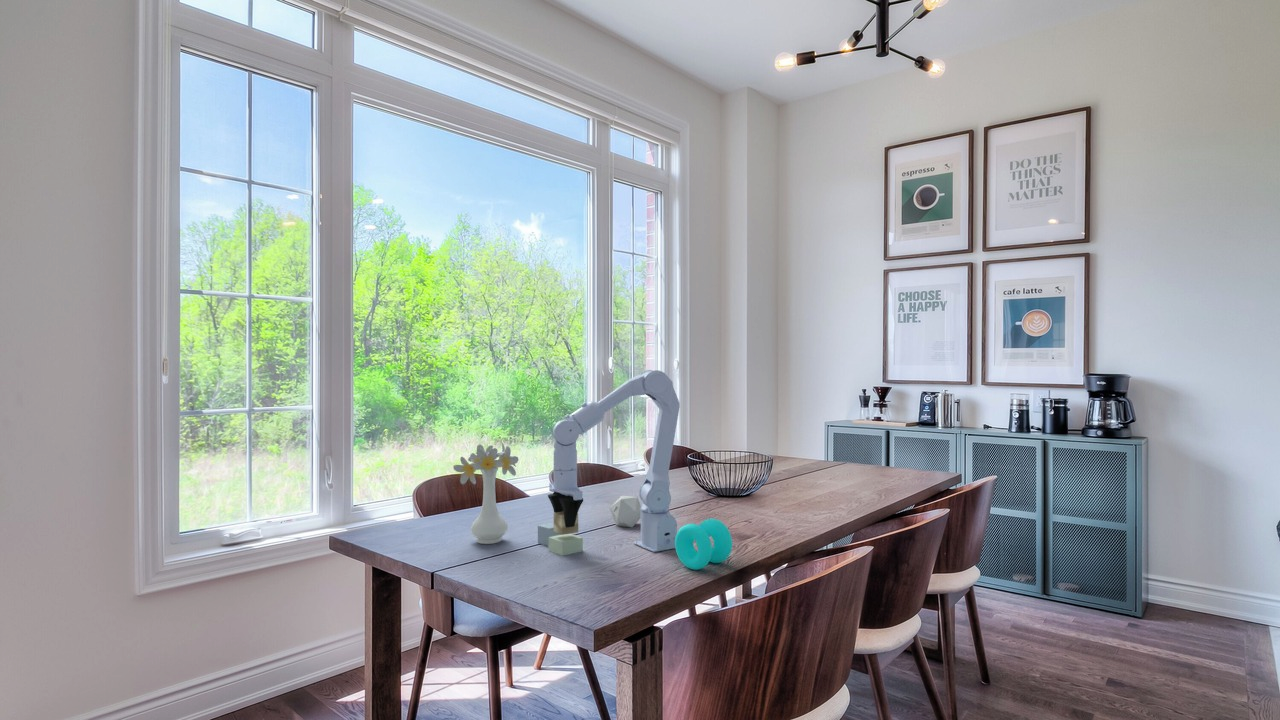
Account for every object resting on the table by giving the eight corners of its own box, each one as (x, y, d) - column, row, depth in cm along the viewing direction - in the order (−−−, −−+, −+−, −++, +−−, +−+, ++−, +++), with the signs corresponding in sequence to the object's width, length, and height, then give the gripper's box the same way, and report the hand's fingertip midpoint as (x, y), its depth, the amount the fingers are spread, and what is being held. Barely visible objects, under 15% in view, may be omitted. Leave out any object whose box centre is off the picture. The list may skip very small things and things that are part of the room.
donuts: (734, 565, 151) (734, 521, 151) (705, 575, 144) (705, 529, 144) (701, 556, 158) (701, 514, 158) (672, 565, 151) (672, 521, 151)
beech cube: (578, 532, 163) (578, 513, 163) (561, 534, 160) (561, 516, 160) (570, 528, 167) (570, 510, 167) (553, 531, 164) (553, 512, 164)
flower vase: (447, 549, 165) (446, 448, 165) (485, 531, 183) (485, 440, 183) (493, 553, 161) (493, 450, 161) (528, 535, 179) (528, 441, 179)
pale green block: (582, 552, 163) (582, 537, 163) (562, 556, 159) (562, 542, 159) (568, 547, 168) (568, 533, 168) (548, 551, 164) (548, 537, 164)
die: (612, 523, 194) (601, 500, 189) (638, 506, 196) (627, 482, 191) (626, 540, 187) (614, 516, 182) (652, 522, 190) (641, 498, 184)
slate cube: (562, 542, 171) (562, 525, 171) (549, 546, 168) (549, 528, 168) (551, 539, 174) (551, 522, 174) (537, 543, 171) (537, 525, 171)
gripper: (538, 466, 168) (538, 520, 168) (563, 474, 155) (563, 533, 155) (563, 464, 171) (563, 517, 171) (590, 472, 159) (590, 529, 159)
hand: (565, 524), depth 164 cm, fingers closed on beech cube, 4 cm apart
